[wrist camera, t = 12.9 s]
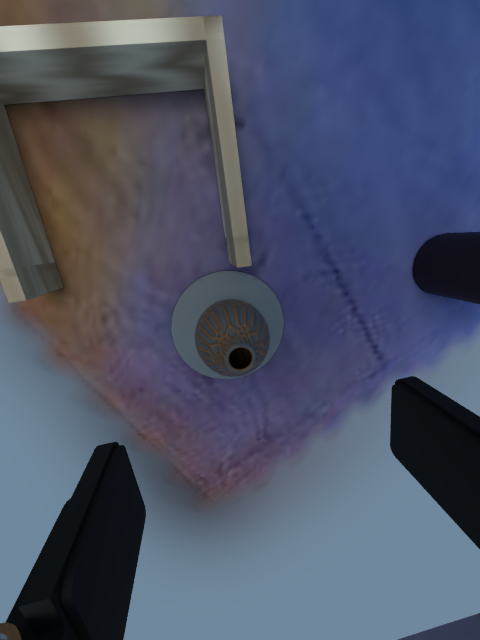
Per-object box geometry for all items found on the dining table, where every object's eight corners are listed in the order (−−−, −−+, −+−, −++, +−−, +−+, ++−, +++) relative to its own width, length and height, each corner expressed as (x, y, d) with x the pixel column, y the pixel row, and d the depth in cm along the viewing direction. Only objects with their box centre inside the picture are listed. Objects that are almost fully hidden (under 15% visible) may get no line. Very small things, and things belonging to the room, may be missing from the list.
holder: (215, 71, 23) (221, 15, 18) (240, 261, 28) (251, 265, 22) (-19, 88, 21) (-97, 31, 16) (50, 289, 26) (8, 302, 20)
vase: (200, 288, 27) (202, 307, 19) (265, 299, 29) (294, 322, 20) (190, 351, 29) (187, 395, 21) (252, 359, 30) (273, 403, 22)
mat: (276, 262, 28) (278, 262, 28) (286, 365, 32) (288, 368, 31) (160, 280, 27) (159, 280, 27) (183, 386, 31) (183, 388, 30)
